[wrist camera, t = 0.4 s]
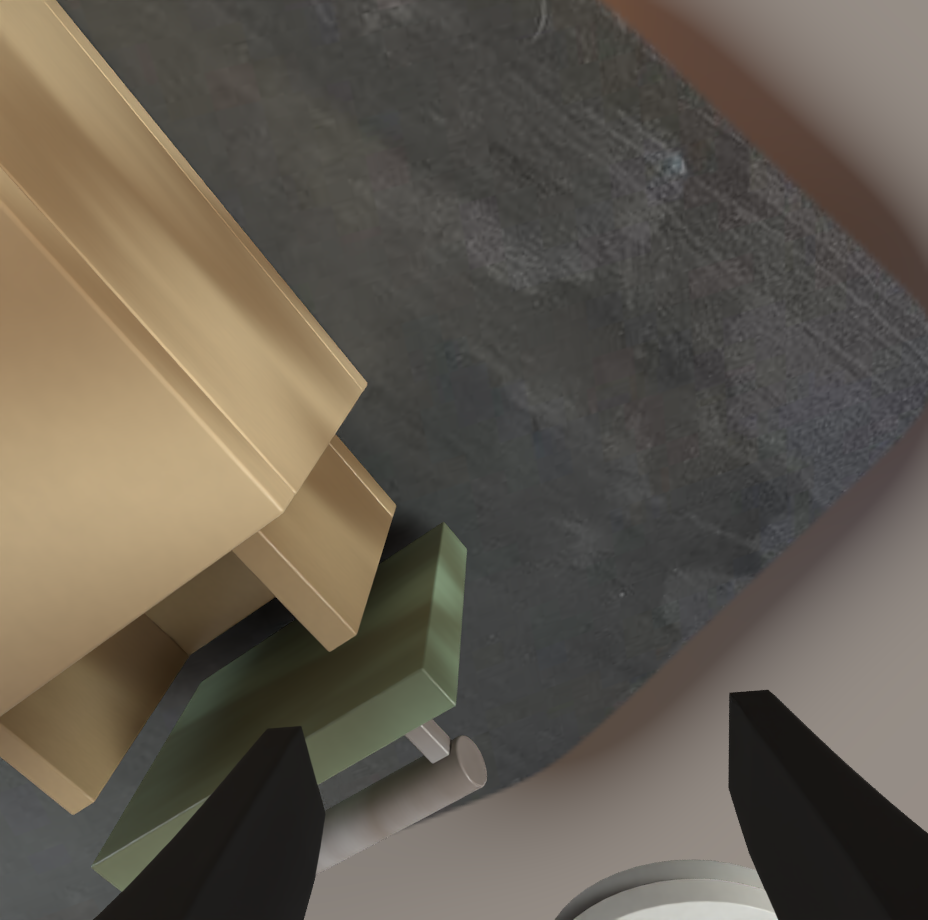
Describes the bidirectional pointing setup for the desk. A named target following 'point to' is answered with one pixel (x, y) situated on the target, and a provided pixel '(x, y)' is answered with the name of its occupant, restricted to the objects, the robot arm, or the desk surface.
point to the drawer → (273, 677)
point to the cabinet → (129, 361)
